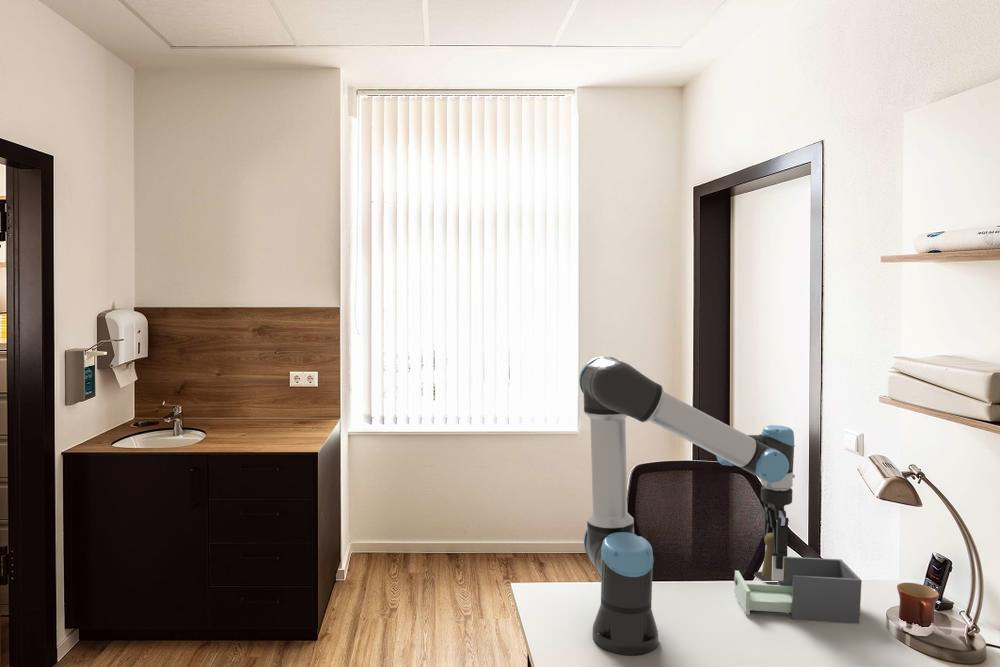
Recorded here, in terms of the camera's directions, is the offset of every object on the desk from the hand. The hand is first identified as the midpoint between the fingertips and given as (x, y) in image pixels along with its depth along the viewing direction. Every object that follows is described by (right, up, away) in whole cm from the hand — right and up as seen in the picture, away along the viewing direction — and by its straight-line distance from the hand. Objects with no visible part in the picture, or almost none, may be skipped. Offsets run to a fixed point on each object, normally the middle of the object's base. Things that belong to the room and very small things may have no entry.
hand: (773, 574), depth 184 cm
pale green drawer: (-1, -8, +1) cm, 8 cm away
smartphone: (+7, -8, +15) cm, 19 cm away
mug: (+29, -10, -13) cm, 34 cm away
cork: (0, -1, 0) cm, 0 cm away
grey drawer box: (+11, -9, -1) cm, 14 cm away
